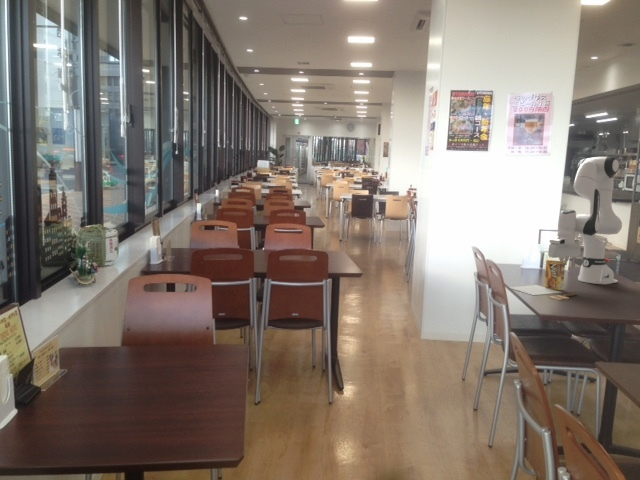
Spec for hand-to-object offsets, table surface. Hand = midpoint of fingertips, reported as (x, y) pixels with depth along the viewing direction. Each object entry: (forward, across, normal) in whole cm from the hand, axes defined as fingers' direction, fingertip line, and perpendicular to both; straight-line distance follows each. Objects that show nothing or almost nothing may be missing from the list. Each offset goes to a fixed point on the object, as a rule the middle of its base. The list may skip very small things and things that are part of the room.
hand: (563, 265), depth 318 cm
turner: (+13, +16, +17) cm, 27 cm away
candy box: (+13, +6, 0) cm, 14 cm away
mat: (+13, +19, 0) cm, 23 cm away
